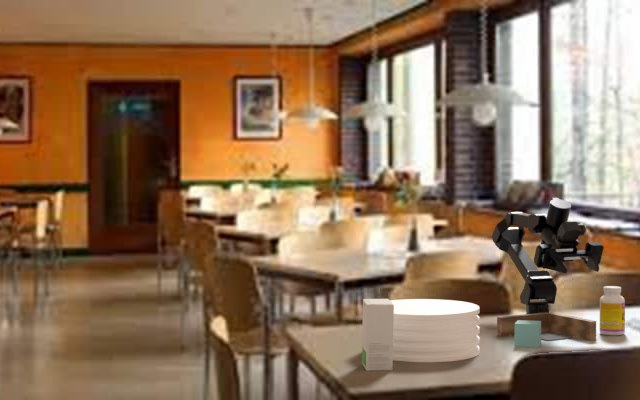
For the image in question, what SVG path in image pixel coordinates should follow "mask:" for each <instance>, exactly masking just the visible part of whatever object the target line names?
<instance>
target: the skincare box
mask: <svg viewBox="0 0 640 400" xmlns="http://www.w3.org/2000/svg"><path fill="white" fill-rule="evenodd" d="M390 300H391V299H389V298H363V299H362V328H361V329H362V330H361V331H362V332H361V333H362V337H361V339H362V340H361V341H362V342H361V343H362V344H361V364H362V366H363V368H364V369H365V371H366V372H370V371H371V372H374V371H375V372H376V371H377V372H380V371H383V372H384V371H393V366H394V365H393V363H394V360H393V322H394V305H393V304H392V301H390Z"/></svg>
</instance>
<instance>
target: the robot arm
mask: <svg viewBox="0 0 640 400" xmlns="http://www.w3.org/2000/svg"><path fill="white" fill-rule="evenodd" d="M571 207H572V203H571V202H570V201H566V200H564V199H560V198H559V197H551V198H550V201H549V205H548V209H547V213H532V214H530V213H525V212H523V211H509V212H507V213H506V215H505V216H504V218H503V219H501V221H500V222H498V223H497V224H496V225H495V228H494V230H493V232H492V238H491V239H492V242H493V243H494V246H496V247H497V248H498V249H499V250H500V251H502V252H504V253H506V254H508V256H509V258H510V260H512V262H513V264H514V265H515V268H516V269H517V270H518V273H520V275H521V277H522V278H523V280H524V286H523V289H522V291H521V292H520V295H519V301H520V304H522V305H525V306H526V307H525V309H526V311H525V312H526V313H525V314H533V313H543V312H549V313H550V309H549V307H550V305H551V304H552V305H553V304H554V305H555V303H556V298H557V290H558V288H557V284H556V283H555V281H554V278H553V276H551V274H550V271H556V272H557V273H558V272H559V273H563V274H567V272H568V269H567V267H566V266H565V264H564V262H574V260H583V263H584V264H585V265H586V267H587V268H589V269H591V270H592V271H595V272H596V273H598V272H599V271H600V266H599V264H601V261H602V256H603V253H604V245H603V244H602V243H601V242H600V241H589V242H587V243H585V246H584V249H581V250H580V249H579V250H578V248H577V246H579V244H580V241H579V240H578V239H579V237H581V236H584V235H585V233H586V230H587V228H586V225H585V224H584V223H582V222H580V221H579V222H578V221H569V216H570V213H571V212H570V211H571ZM513 226H514V227H513ZM515 226H516V227H515ZM525 229H528V232H529V233H531V234H533V235H540V237H541V242H540V244H538V245H536V248H535V251H534V257H533V259H532V258H531V256H530V255H529V253H528V251H527V250H526V249H525V247H524V245H523V244H522V242H523V239H524V237H525V235H526V231H525ZM541 268H542V270H539V269H541ZM548 270H550V271H548Z"/></svg>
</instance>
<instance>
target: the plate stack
mask: <svg viewBox="0 0 640 400" xmlns="http://www.w3.org/2000/svg"><path fill="white" fill-rule="evenodd" d="M389 300H390V301H392V304H393V305H394V322H393V361H396V362H410V363H442V362H454V361H455V362H456V361H463V360H467V359H468V360H469V359H472V358H475V357H476V356H477V357H478V355H479V354H480V351H481V349H480V346H479V344H480V338H481V337H480V336H479V334H480V330H481V329H480V327H481V326H479V324H480V321H481V320H480V318H481V317H480V316H479V314H480V311H481V310H480V309H481V308H480V305H478V304H475V303H473V302H468V301H462V300H461V301H460V300H455V299H454V300H453V299H439V298H438V299H437V298H436V299H435V298H433V299H432V298H409V299H408V298H406V299H405V298H404V299H393V300H391V299H389Z"/></svg>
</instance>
